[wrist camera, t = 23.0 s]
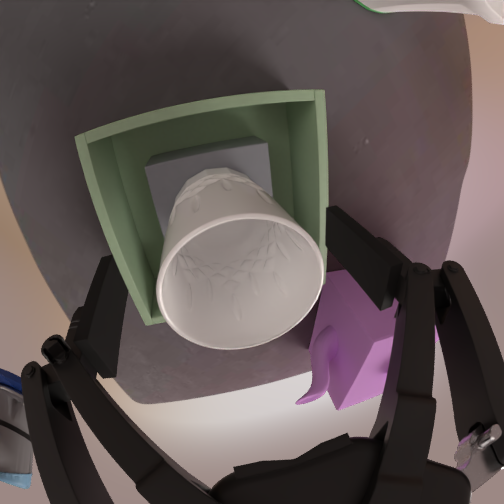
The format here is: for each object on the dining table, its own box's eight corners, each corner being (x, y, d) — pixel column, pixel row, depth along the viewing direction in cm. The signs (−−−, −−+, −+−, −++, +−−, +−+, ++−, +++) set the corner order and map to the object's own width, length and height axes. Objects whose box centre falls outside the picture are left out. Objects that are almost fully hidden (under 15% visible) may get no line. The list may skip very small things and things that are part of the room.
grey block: (174, 246, 26) (173, 270, 23) (150, 156, 21) (144, 167, 18) (265, 226, 27) (277, 247, 24) (255, 135, 22) (267, 142, 19)
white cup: (277, 236, 23) (328, 320, 15) (187, 266, 23) (195, 364, 14) (255, 145, 19) (315, 189, 10) (150, 180, 18) (124, 252, 10)
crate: (150, 280, 28) (145, 326, 23) (102, 125, 19) (73, 136, 14) (299, 247, 30) (325, 284, 25) (289, 90, 21) (324, 89, 16)
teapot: (269, 281, 32) (314, 382, 20) (423, 255, 37) (482, 312, 25) (264, 359, 40) (292, 440, 28) (395, 325, 45) (435, 381, 33)
